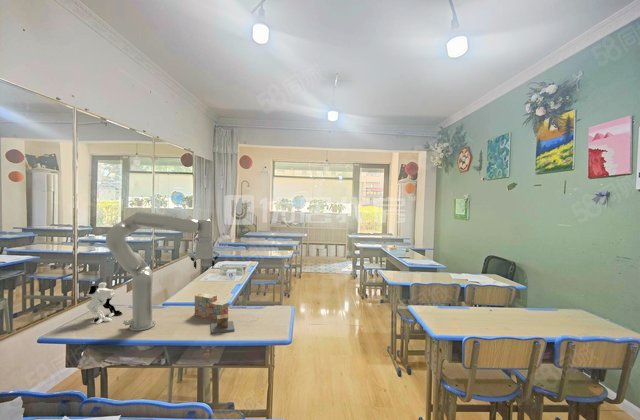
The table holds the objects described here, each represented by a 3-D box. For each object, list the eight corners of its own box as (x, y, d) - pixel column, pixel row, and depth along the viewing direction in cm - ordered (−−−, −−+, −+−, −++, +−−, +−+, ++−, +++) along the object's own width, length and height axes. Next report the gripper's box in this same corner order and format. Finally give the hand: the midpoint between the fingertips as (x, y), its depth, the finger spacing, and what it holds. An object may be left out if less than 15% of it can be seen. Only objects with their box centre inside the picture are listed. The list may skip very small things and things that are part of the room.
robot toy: (105, 324, 170) (104, 289, 170) (80, 324, 170) (79, 289, 170) (126, 312, 189) (126, 280, 189) (104, 312, 189) (103, 280, 188)
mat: (211, 333, 160) (211, 332, 160) (211, 325, 171) (211, 323, 171) (234, 330, 164) (234, 329, 164) (232, 322, 176) (232, 320, 176)
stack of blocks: (228, 317, 184) (228, 297, 184) (221, 320, 178) (221, 300, 178) (201, 311, 193) (202, 292, 192) (194, 314, 187) (194, 295, 187)
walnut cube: (217, 328, 164) (217, 318, 164) (217, 325, 169) (217, 315, 169) (227, 327, 166) (227, 317, 166) (227, 323, 171) (227, 314, 171)
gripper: (188, 240, 175) (188, 270, 176) (219, 240, 181) (219, 268, 182) (189, 239, 182) (189, 267, 183) (219, 238, 188) (219, 265, 189)
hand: (204, 267), depth 182 cm, fingers open, 9 cm apart
